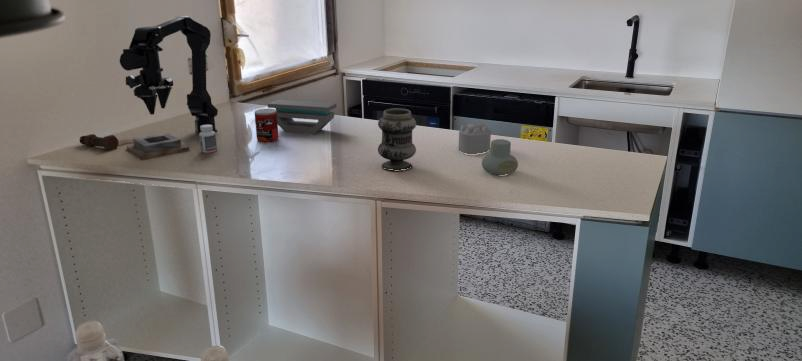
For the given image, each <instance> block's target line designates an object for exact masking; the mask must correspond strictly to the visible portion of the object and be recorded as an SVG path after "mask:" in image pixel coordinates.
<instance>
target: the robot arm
mask: <svg viewBox="0 0 802 361" xmlns="http://www.w3.org/2000/svg"><path fill="white" fill-rule="evenodd" d="M178 32H181V34H182V35H184V36H185V37H186V43H187V45H188V47H189V48H190V50H191V72H192V74H191V76H192V77H191V80H192V81H191V84H192V90H191V92H189V93H187V95H186V101H187V102H186V106H187V109H188V111H189V113H190V115H191V117H195V120H194V125H195V126H194V127H195V130H194V131H195V132H197V133H198V134H200V132H202V131H201V130H200V126H202V125H212V127H213V130H212V131H214V132H215V133H216V132H218V129H217V128H216V120H215V117H217V116H218V113H219V110H218V108H216V107H215V106H214V104H212V103H213V102H212V97H211V95H210V93H209V91H208V89H207V54H206V53H207V50H208V48H209V46H210V44H211V36H212V34H211V30H209V28H208V27H207V26H205V25H203V24H202V23H199V22H197V21H196V20H194V19H193V18H191V17H189V16H187V15H185V16H183V15H182V16H181V15H178V16H176V17H175V18H173V19H169V20H168V21H164V22H163V23H160V24H157V25H153V26H142V27H137V28H136V29H135V30H134V33H133V36H132V39H131V42H130V44H129V47H128V48H124V49H122V53H121V54H120V57H119V65H120V66H121V68H122V69H123V70H125V71H128V72H129V71H134V70H138V69H140V70H139V74H137V75H135V76H134V75H132V74H130V75H128V76H127V75H126V77H125V85H126V86H128V87H129V88H130V89H133V88H134V89H133V96H134V97H136V98H139V99H140V100H142V101H143V103H144V105H145V107H146V108H147V110H148V112H149V114H150V115H152V116H153V115H155V112H156V106H157V98H158V102H159V104H160V105H159V106H160V108H161V109H166V106H167V102H168V99H169V96H170V95H171V91H172V89H173V86H174V80H173V79H172V78H171V77H163V76H162V72H163V71H164V69H163V68H164V67H161V63H160V62H161V61H160V56H159V52H163V51H164V49H163V48H162V47H160V45H159V44H161V43H162V42H163V40H164V38H166V37H168V36H171V35H173V34H176V33H178Z"/></svg>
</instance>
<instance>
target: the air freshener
mask: <svg viewBox="0 0 802 361" xmlns="http://www.w3.org/2000/svg"><path fill="white" fill-rule="evenodd" d="M481 167H482V168H483V170H484V171H485V172H487V173H489V174H490V175H493V174H495V175H494V176H497V175H505V174H508V175H511V174H512V173H515V171H516V170H517V169H518V167H519V162H518V159H516V157H515V156H513V155H512V154H511V141H510V140H507V139H503V138H502V139H501V138H499V139H493V140H492V141H490V151H489V153H487V154H485V156H483V158H482V160H481Z"/></svg>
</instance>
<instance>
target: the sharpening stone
mask: <svg viewBox="0 0 802 361" xmlns="http://www.w3.org/2000/svg"><path fill="white" fill-rule="evenodd" d="M336 108H337V103H336V102H335V103H334V102H325V101H324V102H323V101H321V102H320V101H306V100H304V101H303V100H291V99H289V100H288V99H276V100H273V101H271V102H269V103H267V109H275V110H276V111H277V122H278V127H279V128H280V129H282V131H284V133H289V134H299V135H310V134H312V135H311V136H313V135H315V134H316V133H318V132H320V131H322V130H323V129H324V128H325V127H326V126H327V125H328V124H329V123H330V122H331V121H332V120H333V119H334V118H335V111H332V110H334V109H336ZM295 119H299V120H295ZM300 119H303V120H304V121H303V120H301V121H300ZM305 120H312V121H305ZM313 120H314V121H315V122H314V121H313ZM316 120H317V122H316Z"/></svg>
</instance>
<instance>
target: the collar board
mask: <svg viewBox="0 0 802 361" xmlns="http://www.w3.org/2000/svg"><path fill="white" fill-rule="evenodd" d="M132 140H133V144H129V145H126V149H127V150H128V151H129V152H131V153H132V154H134V155H135V156H136V157H138V158H139V159H141V160H145V159H146V160H147V159H151V158H156V157H162V156H166V155H173V154H177V153H183V152H188V151H190V146H188V145H186V144H185V143H183V142H181V139H179V138H178V137H176V136H174V135H172V134H171V133H168V132H167V133H161V134H154V135H149V136H142V137H136V138H132Z"/></svg>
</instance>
